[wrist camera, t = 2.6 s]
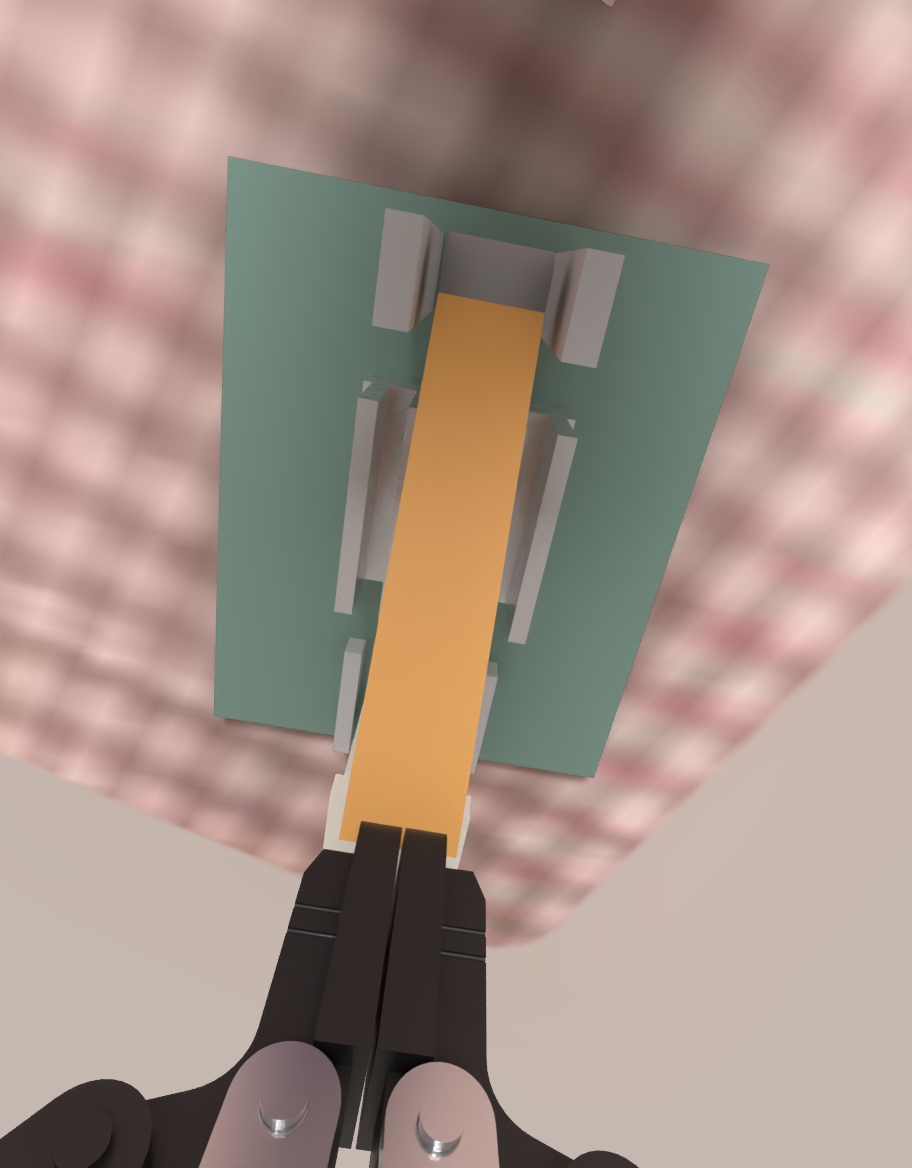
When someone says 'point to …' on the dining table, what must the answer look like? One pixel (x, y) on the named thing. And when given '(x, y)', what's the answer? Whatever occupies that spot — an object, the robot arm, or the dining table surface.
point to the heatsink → (380, 485)
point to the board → (399, 347)
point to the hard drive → (608, 2)
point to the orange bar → (450, 542)
